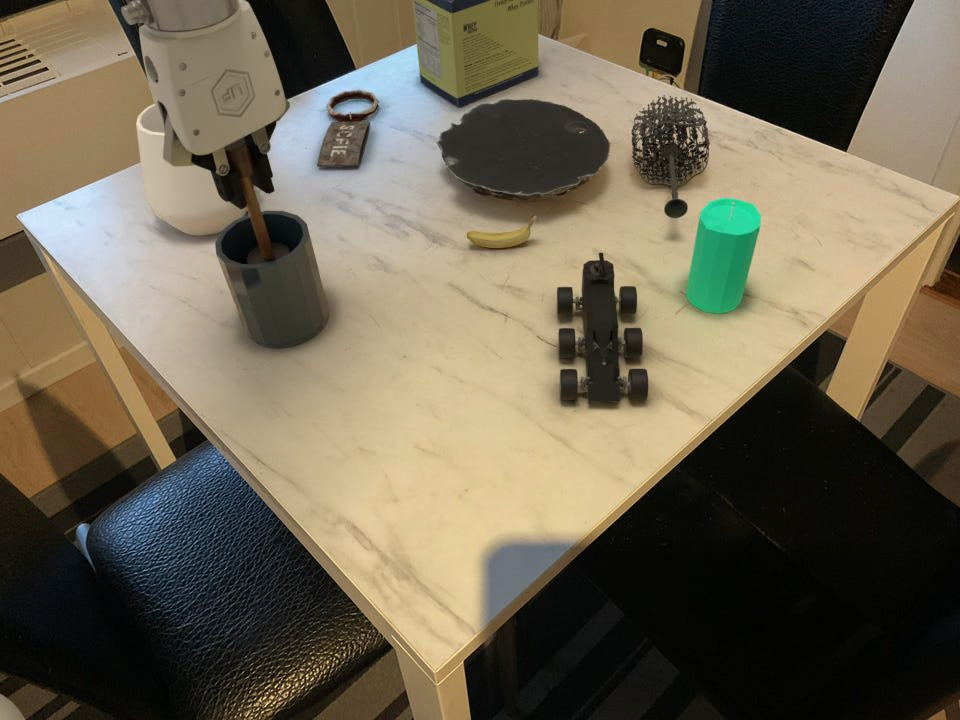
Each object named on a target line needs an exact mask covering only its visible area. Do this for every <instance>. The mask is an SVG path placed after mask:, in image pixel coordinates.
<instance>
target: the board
mask: <svg viewBox="0 0 960 720" xmlns="http://www.w3.org/2000/svg"><path fill="white" fill-rule="evenodd" d="M459 121H460V124H459V123H458V124H456V123H453V122H450V127H449V128H448V129H447V130H443V131H441V132H440V133H439V136H438V137H439V139H438V141H436V145H437V146H438V148H439V151H440V153H441V158H442V160H443V162H444V163H445V165H446V169H447V170H448V172H450V174H451V175H452V176H453V177H454V178H455V179H457V180H458V181H460V182H461V183H463V184H464V185H465V186H467V187H468V188H471V189H472V190H473V192H474V193H475V194H477V195H479V196H492V197H494V198H496V199H502V200H506V201H511V200H515V201H518V202H523V203H524V202H534V203H536V202H539V201H543V200H545V199H549V198H551V197H560V196H564V195H566V194H567V193H568V191H572V190H576V189H578V188H580V187H582V186H583V185H585V184H586V183H587V182H589V181H590V180H591V179H593V177H595V176H596V175H597V174H599V172H600V170H601V169H602V168H604V166H605V164H606V163H607V161H608V160H609V157H610V152H611V142H610V140H609V139H608V137H607V136H606V134H605V132H604V130H603V129H602V128H601V127H600V125H598V124H597V123H596V122H595V121H593V120H592V119H590V118H589V117H586V116H585V115H584V114H583V113H581V112H579V111H576V110H574V109H572V108H571V107H568V106H566V105H563V104H559V103H554V102H552V101H549V100H548V101H545V100H542V99H541V100H540V99H534V98H528V99H527V98H523V99H508V98H504V99H500V100H497V102H494V103H490V102H489V103H488V102H487V103H480V104H478V105H476V106H474V107H472V108H471V109H470V110H469V111H467V112H465V113H463V115H462V116H461V117H460V120H459Z"/></svg>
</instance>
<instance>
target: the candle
mask: <svg viewBox="0 0 960 720" xmlns="http://www.w3.org/2000/svg"><path fill="white" fill-rule="evenodd" d="M697 223H698V224H697V229H696V235H695V240H694V246H693V251H692V255H691V256H692V257H691V263H690V267H689V273H688V278H687V284H686V291H685V297H686V299H687V300H688V302H689V303H690V305H691V306H693V307H695V308H696V309H698V310H700V311H702V312H704V313H705V312H706V313H712V314H718V315H720V314H724V313H728V312H729V313H730V312H733V311H734V310H735V309H736V308H737V307H739V305H741V304H742V300H743V296H744V294H745V293H744V292H745V288H746V285H747V280H748V277H749V273H750V269H751V265H752V261H753V258H754V257H753V256H754V253H755V248H756V245H757V241H758V236H759V234H760V230H761V223H762V215H761V213H760V211H759V210H758V208H757V207H756V205H755V204H754V203H751V202H748V201H745V200H741V199H738V198H730V197H722V198H721V197H720V198H716V199H714V200H709V202H708V203H706V205H704V207H703V208H702V209H700V213H699V218H698V222H697Z"/></svg>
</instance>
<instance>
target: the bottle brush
mask: <svg viewBox="0 0 960 720" xmlns="http://www.w3.org/2000/svg"><path fill="white" fill-rule="evenodd" d="M224 148H225V152H226V156H227V159H228V163H229V165H230V167H231V168H232V169H234V170H235V171H236V172H237V173H238V176H239V179H240V182H241V185H242V189H243V192H244V195H245V198H246V201H247V205H246V207H247V214H248V215H249V216H250V220H251V223H252V226H253V229H254V232H255V235H256V238H257V241H258V245H259V246H257V247H256V248H254V249H253V250H252V251H251V252H250V253H249V254H248V256H247V263H248V264H262V263H267V262H271V261H275V260H277V259H279V258H281V257H283V256H285V255H287V254H289V253H290V250H289V248H288V247H287V246H285V245H284V244H281V243H275V242H274V243H271V242H270V239H269V236H268V232H267V229H266V226H265V222H264V219H263V216H262V213H261V212H262V210H261V206H260V203H259V200H258V197H257V194H256V190H255V186H253V183H252V180H251V177H250V176H251V175H252V174H253V173H254V171H255V167H254V164H253V160H252V157H251V154H250V150H249V147H248V144H247V140H246V139H245V138H241V139H239V140H237V141H235V142H233V143H231V144H229V145H227V146H225V147H224Z"/></svg>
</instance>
